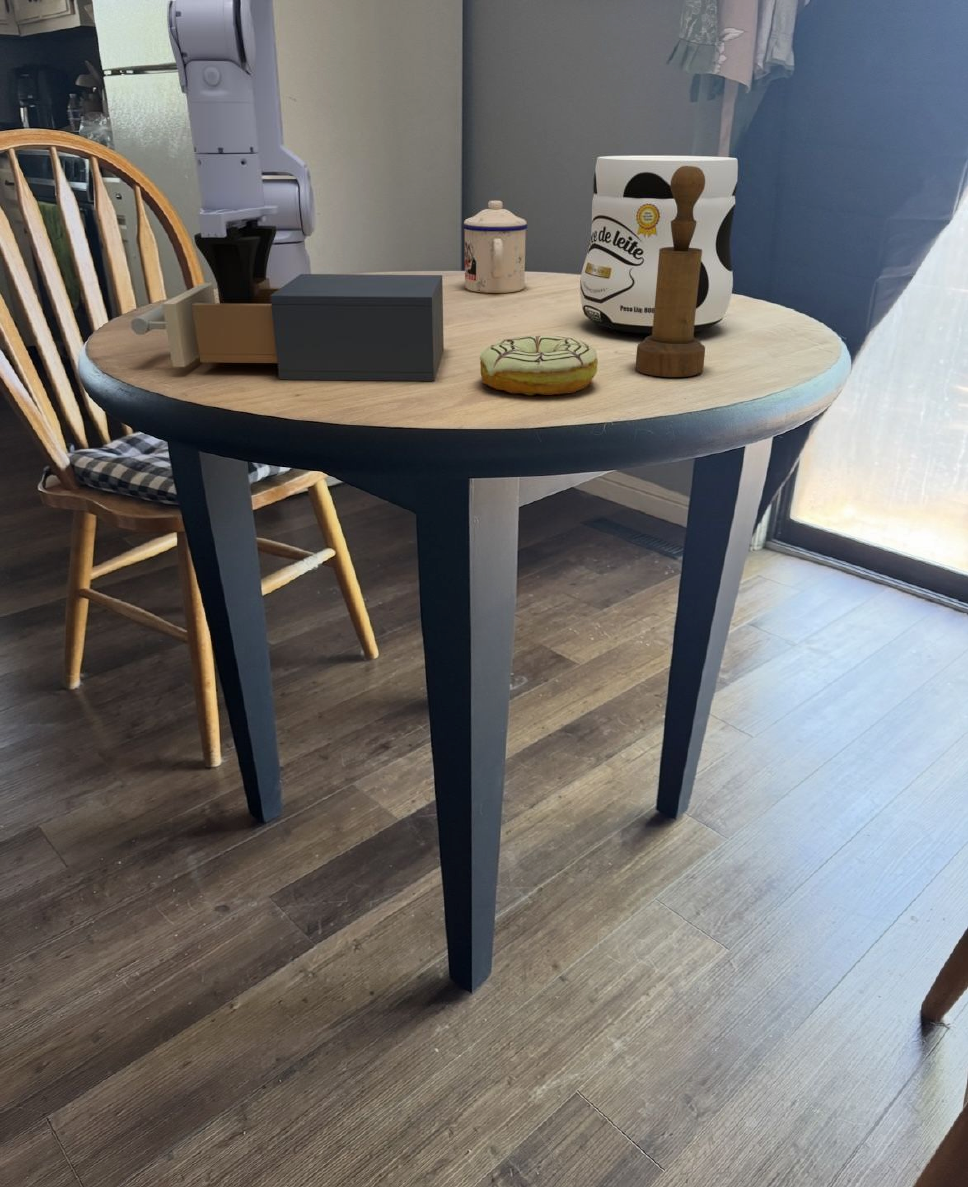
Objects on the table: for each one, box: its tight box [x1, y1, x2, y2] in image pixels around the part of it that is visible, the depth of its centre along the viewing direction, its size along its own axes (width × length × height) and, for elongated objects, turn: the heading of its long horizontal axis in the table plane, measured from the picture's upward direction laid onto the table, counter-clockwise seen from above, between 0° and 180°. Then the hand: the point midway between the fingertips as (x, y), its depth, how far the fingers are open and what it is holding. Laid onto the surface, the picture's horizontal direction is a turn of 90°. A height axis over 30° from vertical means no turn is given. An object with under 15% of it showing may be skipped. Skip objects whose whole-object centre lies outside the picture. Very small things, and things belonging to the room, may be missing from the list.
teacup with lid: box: [462, 200, 528, 294], centre depth 123 cm, size 12×9×12 cm
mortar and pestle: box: [635, 166, 706, 378], centre depth 82 cm, size 7×6×18 cm
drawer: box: [130, 282, 282, 368], centre depth 86 cm, size 18×11×6 cm, turn 88°
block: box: [216, 278, 271, 304], centre depth 85 cm, size 4×4×4 cm
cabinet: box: [270, 273, 445, 382], centre depth 86 cm, size 15×13×8 cm
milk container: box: [579, 154, 739, 335], centre depth 99 cm, size 17×17×18 cm
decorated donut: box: [479, 335, 599, 396], centre depth 80 cm, size 10×11×4 cm
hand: (245, 309), depth 85 cm, fingers closed on block, 4 cm apart
